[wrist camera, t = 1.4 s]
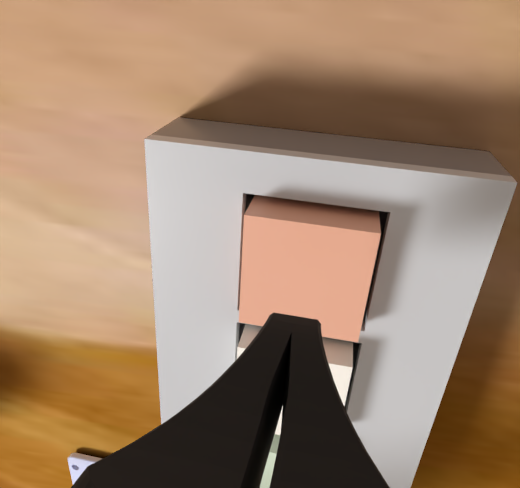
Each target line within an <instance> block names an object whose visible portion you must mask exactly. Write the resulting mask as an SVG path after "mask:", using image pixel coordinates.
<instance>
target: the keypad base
mask: <svg viewBox="0 0 520 488" xmlns="http://www.w3.org/2000/svg"><path fill="white" fill-rule="evenodd" d="M144 141H145V157H146V174H147V191H148V208H149V225H150V242H151V258H152V275H153V292H154V309H155V326H156V343H157V360H158V376H159V393H160V410H161V424H163V423H164V422H166V421H167V420H169V419H170V418H171V417H173V416H174V415H175V414H177V413H178V412H179V411H181V410H182V409H183V408H185V407H186V406H187V405H188V404H190V403H191V402H192V401H194V400H195V399H196V398H197V397H198V396H200V395H201V394H202V393H203V392H204V391H205V390H206V389H208V388H209V387H210V386H211V385H212V384H213V383H214V382H215V381H216V380H217V379H218V378H219V377H220V376H221V375H222V374H223V373H224V372H225V371H226V370H227V369H228V368H229V367H230V366H231V365H232V364H233V363H234V362H235V361H236V360H237V347H238V344H239V341H240V338H241V336H242V333H243V330H244V327H245V324H246V323H240V322H239V306H240V286H241V266H242V246H243V226H244V214H245V212H246V210H247V209H248V207H249V205H250V203H251V201H252V199H253V197H254V196H255V195H261V196H269V197H277V198H284V199H292V200H300V201H307V202H315V203H323V204H330V205H338V206H346V207H353V208H361V209H369V210H376V211H379V219H380V228H381V236H380V241H379V246H378V251H377V255H376V260H375V265H374V269H373V274H372V279H371V284H370V288H369V293H368V298H367V302H366V307H365V312H364V317H363V321H362V326H361V331H360V335H359V340H358V342H353V368H352V373H351V378H350V383H349V387H348V392H347V397H346V401H345V406H344V407H345V410H346V412H347V414H348V416H349V418H350V420H351V422H352V424H353V426H354V428H355V430H356V432H357V434H358V436H359V438H360V440H361V442H362V443H363V445H364V447H365V449H366V451H367V452H368V454H369V456H370V457H371V459H372V460H373V462H374V464H375V465H376V467H377V468H378V470H379V471H380V473H381V475H382V476H383V478H384V479H385V481H386V483H387V484H388V486H389V487H390V488H410V487H411V485H412V482H413V479H414V476H415V473H416V470H417V467H418V465H419V462H420V459H421V456H422V453H423V450H424V448H425V445H426V442H427V439H428V436H429V433H430V430H431V428H432V425H433V422H434V419H435V416H436V413H437V411H438V408H439V405H440V402H441V399H442V396H443V393H444V391H445V388H446V385H447V382H448V379H449V376H450V374H451V371H452V368H453V365H454V362H455V359H456V356H457V354H458V351H459V348H460V345H461V342H462V339H463V337H464V334H465V331H466V328H467V325H468V322H469V319H470V317H471V314H472V311H473V308H474V305H475V302H476V300H477V297H478V294H479V291H480V288H481V285H482V282H483V280H484V277H485V274H486V271H487V268H488V265H489V263H490V260H491V257H492V254H493V251H494V248H495V245H496V243H497V240H498V237H499V234H500V231H501V228H502V226H503V223H504V220H505V217H506V214H507V211H508V208H509V206H510V203H511V200H512V197H513V194H514V191H515V189H516V186H517V182H516V180H515V179H514V178H513V177H512V176H511V175H510V174H509V173H508V172H507V170H506V169H505V168H504V167H503V166H502V165H501V164H500V163H499V162H498V160H497V159H496V158H495V157H494V156H493V155H492V154H491V153H490V152H489V151H481V150H472V149H463V148H453V147H444V146H435V145H426V144H417V143H408V142H399V141H390V140H380V139H371V138H362V137H353V136H344V135H335V134H326V133H317V132H308V131H298V130H289V129H280V128H271V127H262V126H253V125H244V124H235V123H225V122H216V121H207V120H198V119H189V118H180V117H178V118H177V119H175V120H174V121H172V122H170V123H169V124H167V125H166V126H164V127H163V128H161V129H159V130H158V131H156V132H155V133H153V134H151V135H150V136H148V137H147V138H145V139H144ZM250 325H252V324H250ZM256 326H258V325H256ZM262 327H263V326H262ZM326 338H328V337H326ZM332 339H334V338H332ZM338 340H340V339H338ZM344 341H346V340H344ZM350 342H352V341H350Z"/></svg>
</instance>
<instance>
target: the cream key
mask: <svg viewBox="0 0 520 488" xmlns="http://www.w3.org/2000/svg"><path fill="white" fill-rule="evenodd" d="M261 328H262V326H256V325H250V324H245V327H244V330H243V333H242V336H241V338H240V341H239V344H238V347H237V358H238V357H239V356H240V355H241V354H242V353H243V351H244V350H245V349H246V348H247V347H248V345H249V344H250V343H251V342H252V340H253V339H254V338H255V337H256V335H257V334H258V333H259V331H260V330H261ZM322 340H323V345H324V349H325V353H326V357H327V361H328V364H329V367H330V370H331V373H332V376H333V379H334V382H335V385H336V388H337V390H338V393H339V395H340V398H341V400H342V403H343V405H344V406H345V401H346V397H347V392H348V387H349V383H350V378H351V373H352V368H353V342H350V341H344V340H338V339H332V338H326V337H322ZM282 410H283V406H282ZM282 410H281V413H280V417H279V420H278V424H277V427H276V431H275V434H277V435H280V434H281V423H282Z"/></svg>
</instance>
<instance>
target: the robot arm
mask: <svg viewBox="0 0 520 488" xmlns="http://www.w3.org/2000/svg"><path fill="white" fill-rule="evenodd" d="M282 406H283V410H282ZM281 410H282V423H281V434H280V439H279V444H278V449H277V454H276V459H275V464H274V469H273V474H272V479H271V483H270V488H390V487H389V486H388V484H387V483H386V481H385V479H384V478H383V476H382V475H381V473H380V471H379V470H378V468H377V467H376V465H375V464H374V462H373V460H372V459H371V457H370V456H369V454H368V452H367V451H366V449H365V447H364V445H363V443H362V442H361V440H360V438H359V436H358V434H357V432H356V430H355V428H354V426H353V424H352V422H351V420H350V418H349V416H348V414H347V412H346V410H345V407H344V405H343V403H342V400H341V398H340V395H339V393H338V390H337V388H336V385H335V382H334V379H333V376H332V373H331V370H330V367H329V364H328V361H327V357H326V353H325V349H324V345H323V340H322V333H321V323H320V322H319V321H318V320H317V319H310V318H304V317H298V316H292V315H286V314H280V313H272V314H271V315H269V317H268V319H267V321H266V322H265V324H264V325H263V327H262V328H261V330H260V331H259V333H258V334H257V335H256V337H255V338H254V339H253V340H252V342H251V343H250V344H249V345H248V347H247V348H246V349H245V350H244V351H243V353H242V354H241V355H240V356H239V357H238V358H237V360H236V361H235V362H234V363H233V364H232V365H231V366H230V367H229V368H228V369H227V370H226V371H225V372H224V373H223V374H222V375H221V376H220V377H219V378H218V379H217V380H216V381H215V382H214V383H213V384H212V385H211V386H210V387H209V388H208V389H206V390H205V391H204V392H203V393H202V394H201V395H200V396H198V397H197V398H196V399H195V400H194V401H192V402H191V403H190V404H188V405H187V406H186V407H185V408H183V409H182V410H181V411H179V412H178V413H177V414H175V415H174V416H173V417H171V418H170V419H169V420H167V421H166V422H164V423H163V424H161V425H160V426H158V427H156V428H155V429H153V430H152V431H150V432H149V433H147V434H145V435H144V436H142V437H141V438H139V439H138V440H136V441H134V442H133V443H131V444H129V445H127V446H126V447H124V448H122V449H120V450H118V451H116V452H114V453H112V454H111V455H109V456H107V457H105V458H98V457H94V456H89V455H85V454H80V453H71V454H70V456H69V458H68V464H69V468H70V473H71V478H72V483H73V486H72V487H71V488H260V484H261V480H262V476H263V473H264V469H265V466H266V462H267V459H268V455H269V452H270V448H271V445H272V441H273V438H274V434H275V431H276V427H277V424H278V420H279V417H280V413H281Z"/></svg>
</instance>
